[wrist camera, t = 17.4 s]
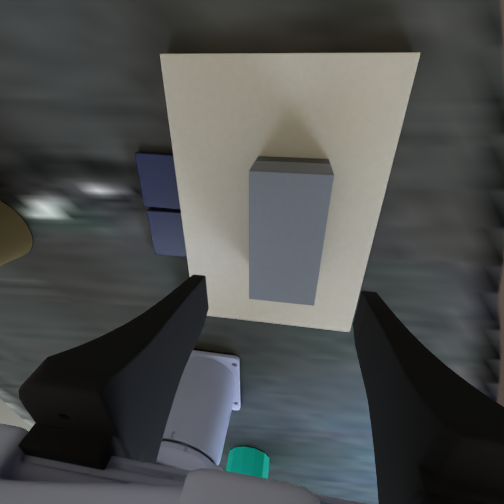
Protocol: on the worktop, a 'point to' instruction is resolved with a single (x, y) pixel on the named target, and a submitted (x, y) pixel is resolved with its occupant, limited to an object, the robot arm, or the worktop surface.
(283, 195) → the eraser
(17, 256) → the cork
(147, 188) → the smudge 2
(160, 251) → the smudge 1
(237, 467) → the candle
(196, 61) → the memo board
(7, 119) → the worktop surface
